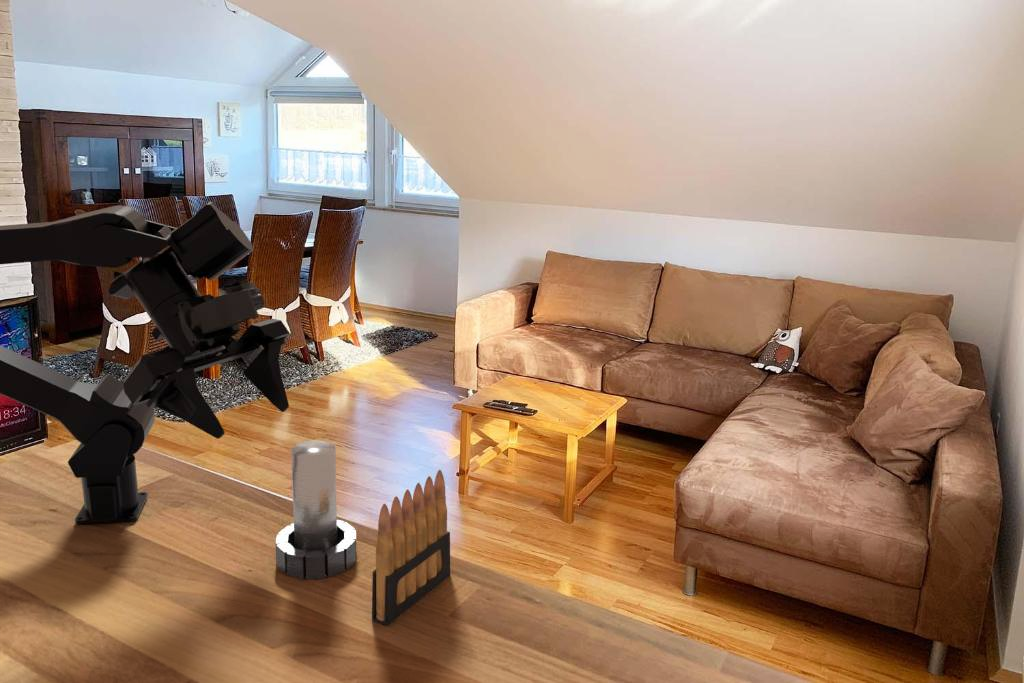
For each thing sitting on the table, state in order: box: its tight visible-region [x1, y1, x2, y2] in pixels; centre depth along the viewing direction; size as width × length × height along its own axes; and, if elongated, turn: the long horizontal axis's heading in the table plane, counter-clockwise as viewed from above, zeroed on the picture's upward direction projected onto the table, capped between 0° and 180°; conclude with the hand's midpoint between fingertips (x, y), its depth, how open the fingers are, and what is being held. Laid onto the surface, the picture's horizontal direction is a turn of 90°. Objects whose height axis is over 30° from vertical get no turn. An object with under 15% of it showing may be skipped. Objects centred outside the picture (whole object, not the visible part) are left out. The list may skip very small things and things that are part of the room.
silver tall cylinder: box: [290, 440, 338, 551], centre depth 89 cm, size 4×4×12 cm
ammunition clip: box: [371, 469, 451, 626], centre depth 83 cm, size 11×2×12 cm, turn 150°
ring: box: [275, 519, 357, 580], centre depth 91 cm, size 8×8×2 cm
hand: (255, 422), depth 91 cm, fingers open, 9 cm apart
